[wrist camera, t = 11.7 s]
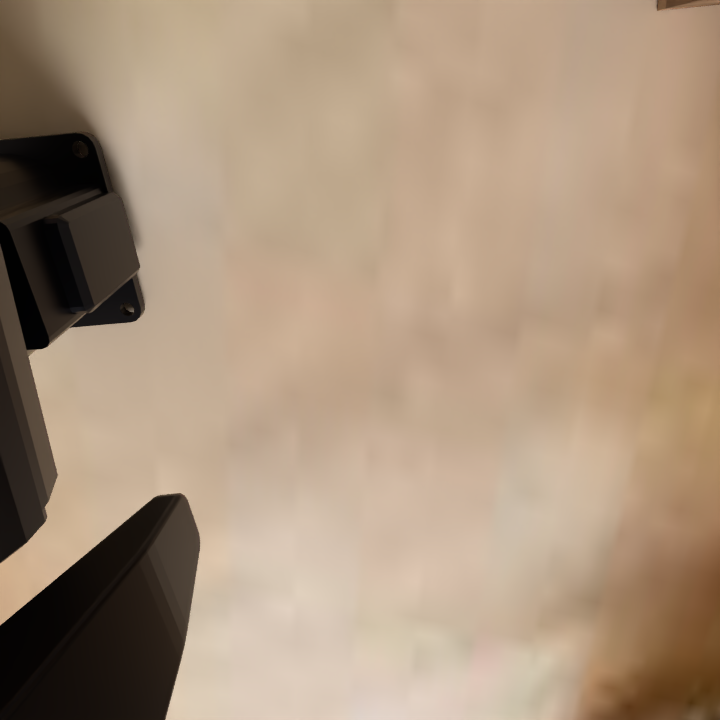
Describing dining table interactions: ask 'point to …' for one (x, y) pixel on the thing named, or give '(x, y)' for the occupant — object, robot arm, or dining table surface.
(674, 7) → the socket block
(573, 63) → the dining table surface
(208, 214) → the dining table surface
